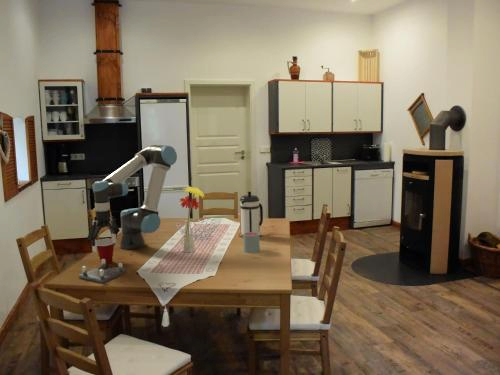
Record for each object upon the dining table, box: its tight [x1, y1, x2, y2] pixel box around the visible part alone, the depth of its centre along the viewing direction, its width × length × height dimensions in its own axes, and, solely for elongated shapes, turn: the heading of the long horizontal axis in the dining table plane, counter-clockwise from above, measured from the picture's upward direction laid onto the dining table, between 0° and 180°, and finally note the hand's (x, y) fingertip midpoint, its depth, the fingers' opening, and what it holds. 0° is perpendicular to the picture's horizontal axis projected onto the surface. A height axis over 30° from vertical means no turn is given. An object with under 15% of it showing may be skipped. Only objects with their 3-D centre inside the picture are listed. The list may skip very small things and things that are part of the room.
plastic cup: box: [96, 237, 115, 265], centre depth 230 cm, size 11×11×12 cm
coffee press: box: [238, 191, 264, 238], centre depth 277 cm, size 17×16×30 cm
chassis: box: [78, 259, 128, 284], centre depth 211 cm, size 16×16×6 cm
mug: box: [242, 232, 261, 254], centre depth 248 cm, size 14×9×10 cm
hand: (104, 248), depth 229 cm, fingers open, 13 cm apart
